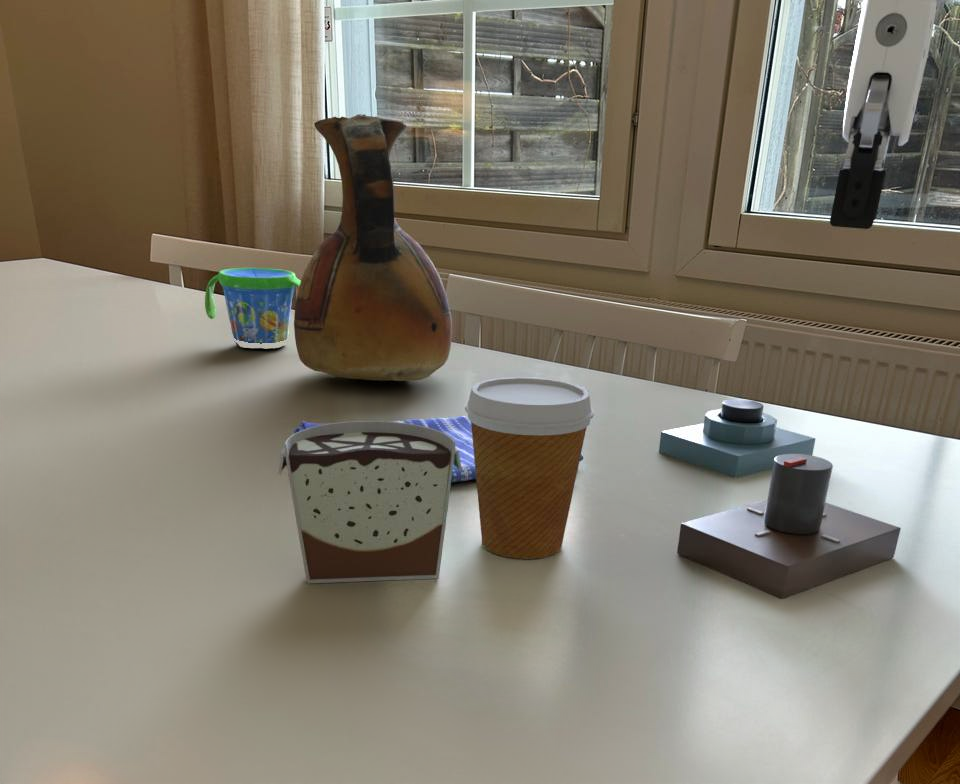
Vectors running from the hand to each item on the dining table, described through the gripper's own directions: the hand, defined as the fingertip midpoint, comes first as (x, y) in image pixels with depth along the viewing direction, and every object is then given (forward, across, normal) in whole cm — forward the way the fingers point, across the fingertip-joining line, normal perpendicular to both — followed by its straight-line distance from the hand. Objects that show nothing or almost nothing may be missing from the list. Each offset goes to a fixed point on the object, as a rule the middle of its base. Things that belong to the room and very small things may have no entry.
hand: (852, 223), depth 81 cm
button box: (+23, +8, +7) cm, 25 cm away
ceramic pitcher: (+24, +21, +54) cm, 63 cm away
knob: (+20, -18, -1) cm, 27 cm away
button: (+19, +8, +7) cm, 22 cm away
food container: (+24, -33, +28) cm, 49 cm away
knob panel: (+23, -18, -1) cm, 29 cm away
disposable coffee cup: (+24, -24, +19) cm, 39 cm away
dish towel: (+24, -7, +34) cm, 42 cm away
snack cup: (+24, +32, +78) cm, 88 cm away
